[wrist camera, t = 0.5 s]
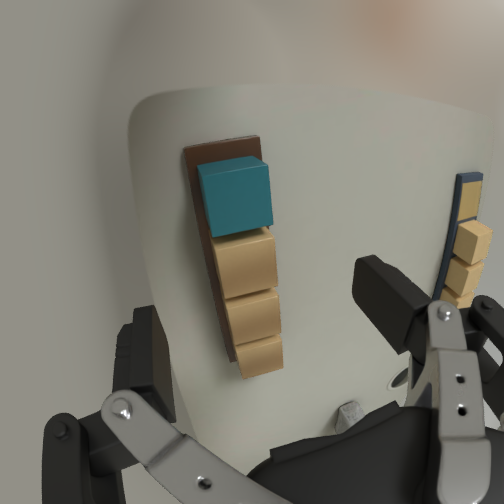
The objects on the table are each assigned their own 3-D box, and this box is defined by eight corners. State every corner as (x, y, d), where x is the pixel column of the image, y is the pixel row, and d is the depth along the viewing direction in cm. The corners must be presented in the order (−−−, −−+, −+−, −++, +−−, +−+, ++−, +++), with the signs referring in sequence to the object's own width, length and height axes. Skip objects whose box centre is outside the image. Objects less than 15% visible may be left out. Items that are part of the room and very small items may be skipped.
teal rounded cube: (196, 165, 22) (201, 176, 19) (252, 155, 23) (268, 164, 19) (206, 218, 24) (212, 238, 21) (258, 207, 25) (273, 225, 21)
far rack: (456, 173, 30) (485, 185, 26) (478, 171, 32) (504, 182, 27) (427, 315, 42) (445, 332, 38) (448, 303, 43) (466, 319, 39)
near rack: (183, 147, 22) (186, 156, 18) (256, 134, 23) (276, 141, 19) (228, 356, 34) (237, 389, 29) (276, 344, 35) (290, 374, 30)
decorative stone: (332, 407, 48) (367, 471, 35) (360, 395, 48) (398, 454, 36) (330, 429, 53) (358, 484, 40) (355, 418, 54) (385, 470, 41)
